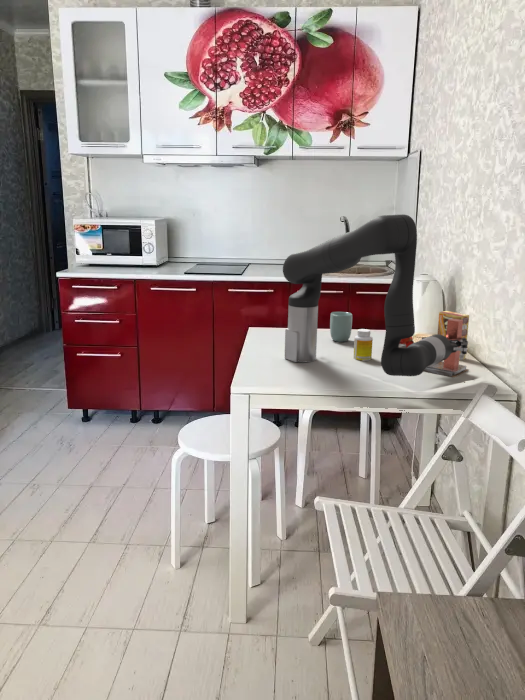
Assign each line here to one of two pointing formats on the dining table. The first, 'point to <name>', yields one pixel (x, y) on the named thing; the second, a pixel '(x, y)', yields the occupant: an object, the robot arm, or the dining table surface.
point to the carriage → (453, 360)
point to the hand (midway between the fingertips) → (457, 340)
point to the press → (437, 370)
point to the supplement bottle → (363, 345)
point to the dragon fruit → (407, 341)
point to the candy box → (447, 315)
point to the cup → (340, 326)
